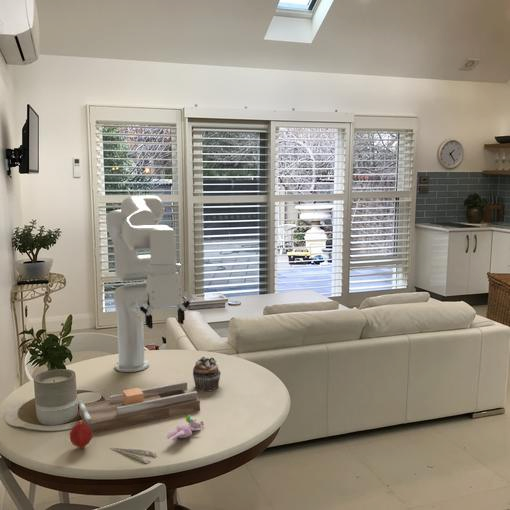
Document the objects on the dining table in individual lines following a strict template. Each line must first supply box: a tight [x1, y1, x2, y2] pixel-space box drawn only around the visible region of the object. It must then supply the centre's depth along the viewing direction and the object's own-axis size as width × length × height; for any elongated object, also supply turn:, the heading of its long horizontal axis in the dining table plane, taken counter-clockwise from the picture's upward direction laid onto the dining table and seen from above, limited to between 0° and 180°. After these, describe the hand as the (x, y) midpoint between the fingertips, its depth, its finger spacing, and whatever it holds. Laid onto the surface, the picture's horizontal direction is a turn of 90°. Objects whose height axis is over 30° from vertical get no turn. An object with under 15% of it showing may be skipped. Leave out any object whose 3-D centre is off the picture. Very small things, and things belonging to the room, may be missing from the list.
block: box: [122, 387, 144, 405], centre depth 166 cm, size 5×5×4 cm
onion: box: [69, 419, 93, 449], centre depth 145 cm, size 6×6×8 cm
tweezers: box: [108, 447, 158, 464], centre depth 144 cm, size 17×5×2 cm, turn 64°
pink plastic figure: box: [166, 414, 205, 441], centre depth 152 cm, size 6×6×15 cm
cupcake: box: [192, 356, 221, 392], centre depth 186 cm, size 10×10×10 cm
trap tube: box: [78, 381, 201, 434], centre depth 167 cm, size 14×34×5 cm, turn 118°
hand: (165, 325), depth 163 cm, fingers open, 9 cm apart
